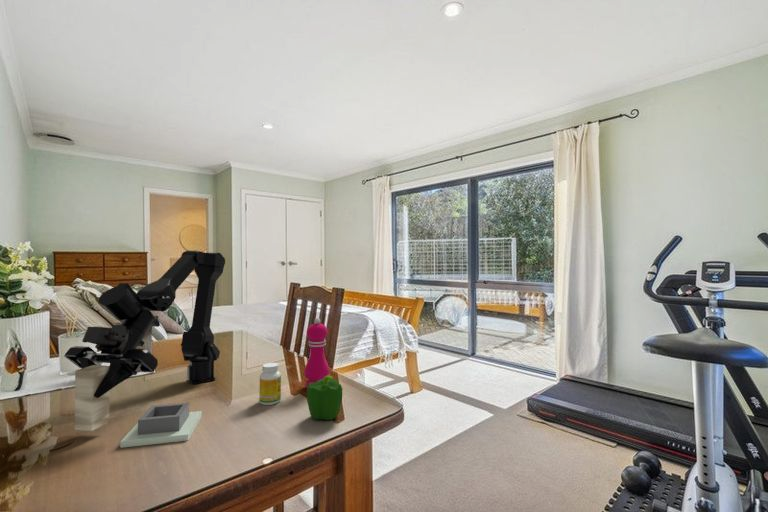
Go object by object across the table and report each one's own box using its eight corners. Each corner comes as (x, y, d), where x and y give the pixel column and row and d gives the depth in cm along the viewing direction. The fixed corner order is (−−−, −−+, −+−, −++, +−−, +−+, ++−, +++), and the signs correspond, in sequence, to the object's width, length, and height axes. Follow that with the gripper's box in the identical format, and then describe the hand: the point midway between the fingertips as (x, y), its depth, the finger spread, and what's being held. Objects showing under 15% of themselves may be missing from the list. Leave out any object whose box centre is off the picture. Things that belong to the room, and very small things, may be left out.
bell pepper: (303, 412, 88) (303, 371, 88) (336, 407, 91) (336, 367, 91) (310, 427, 80) (311, 381, 80) (346, 421, 83) (346, 377, 83)
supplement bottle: (259, 399, 96) (259, 362, 96) (280, 396, 98) (280, 361, 98) (259, 406, 91) (259, 368, 91) (281, 404, 93) (281, 366, 93)
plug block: (92, 420, 78) (93, 365, 78) (109, 422, 77) (109, 365, 78) (74, 429, 74) (75, 370, 74) (91, 431, 73) (92, 371, 74)
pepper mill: (305, 383, 109) (306, 316, 109) (330, 382, 110) (330, 316, 110) (302, 391, 102) (303, 320, 102) (328, 390, 103) (329, 320, 103)
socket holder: (144, 421, 82) (144, 402, 83) (201, 416, 85) (202, 398, 86) (120, 447, 71) (120, 426, 71) (188, 440, 74) (188, 419, 74)
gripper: (73, 310, 81) (16, 375, 70) (148, 312, 79) (101, 380, 68) (104, 338, 89) (57, 400, 78) (174, 340, 86) (135, 405, 75)
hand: (86, 396), depth 74 cm, fingers closed on plug block, 4 cm apart
